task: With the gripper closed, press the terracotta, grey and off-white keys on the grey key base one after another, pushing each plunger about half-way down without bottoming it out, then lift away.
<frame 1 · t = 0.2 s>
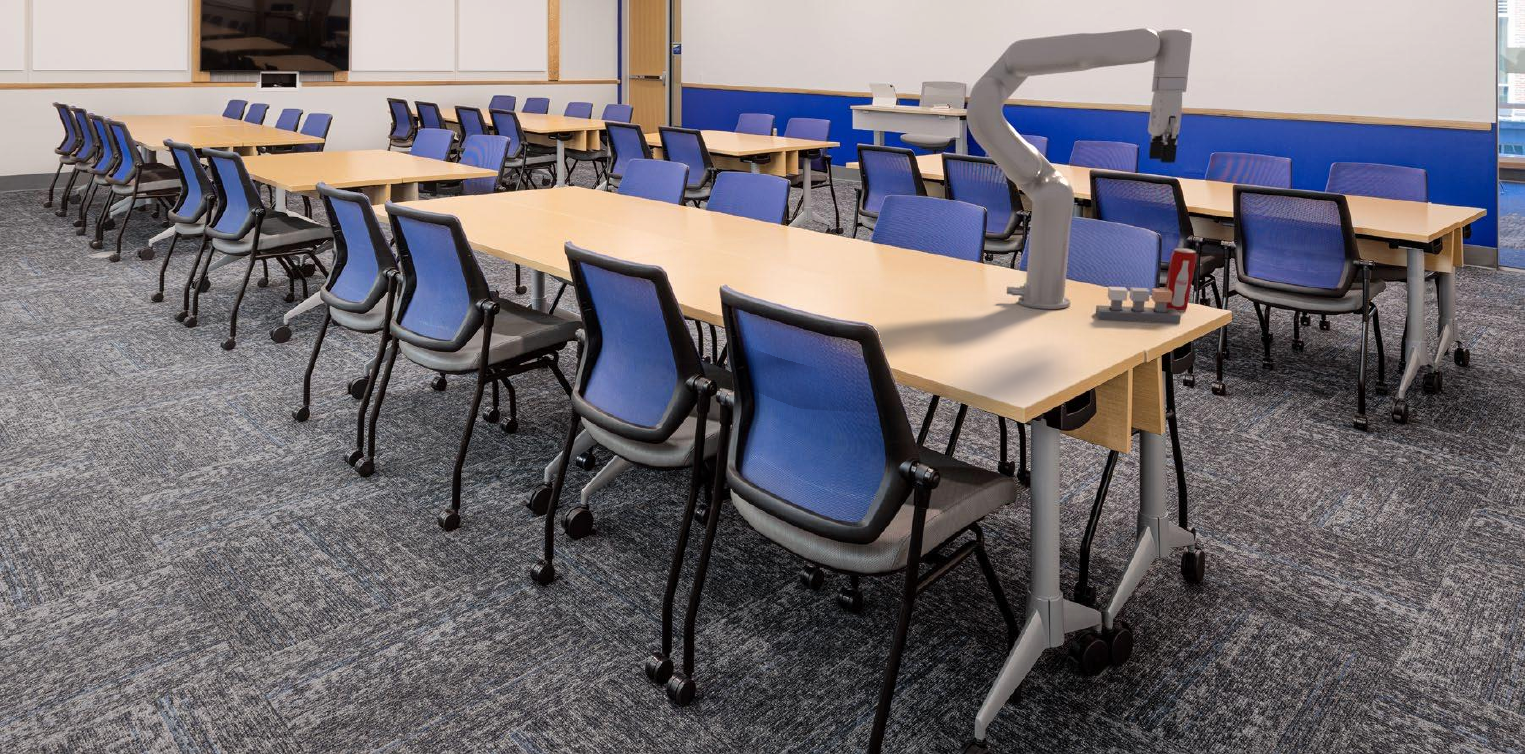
hand: (1161, 160, 246), 36 cm above the table, tool pointing down, fingers open, 9 cm apart
key white: (1117, 298, 246), point 5 cm above the table, slide at 0.0 cm
grey key base: (1136, 318, 247), on the table
key terracotta: (1161, 300, 244), point 5 cm above the table, slide at 0.0 cm
beverage can: (1175, 310, 256), on the table
key grey: (1139, 299, 245), point 5 cm above the table, slide at 0.0 cm
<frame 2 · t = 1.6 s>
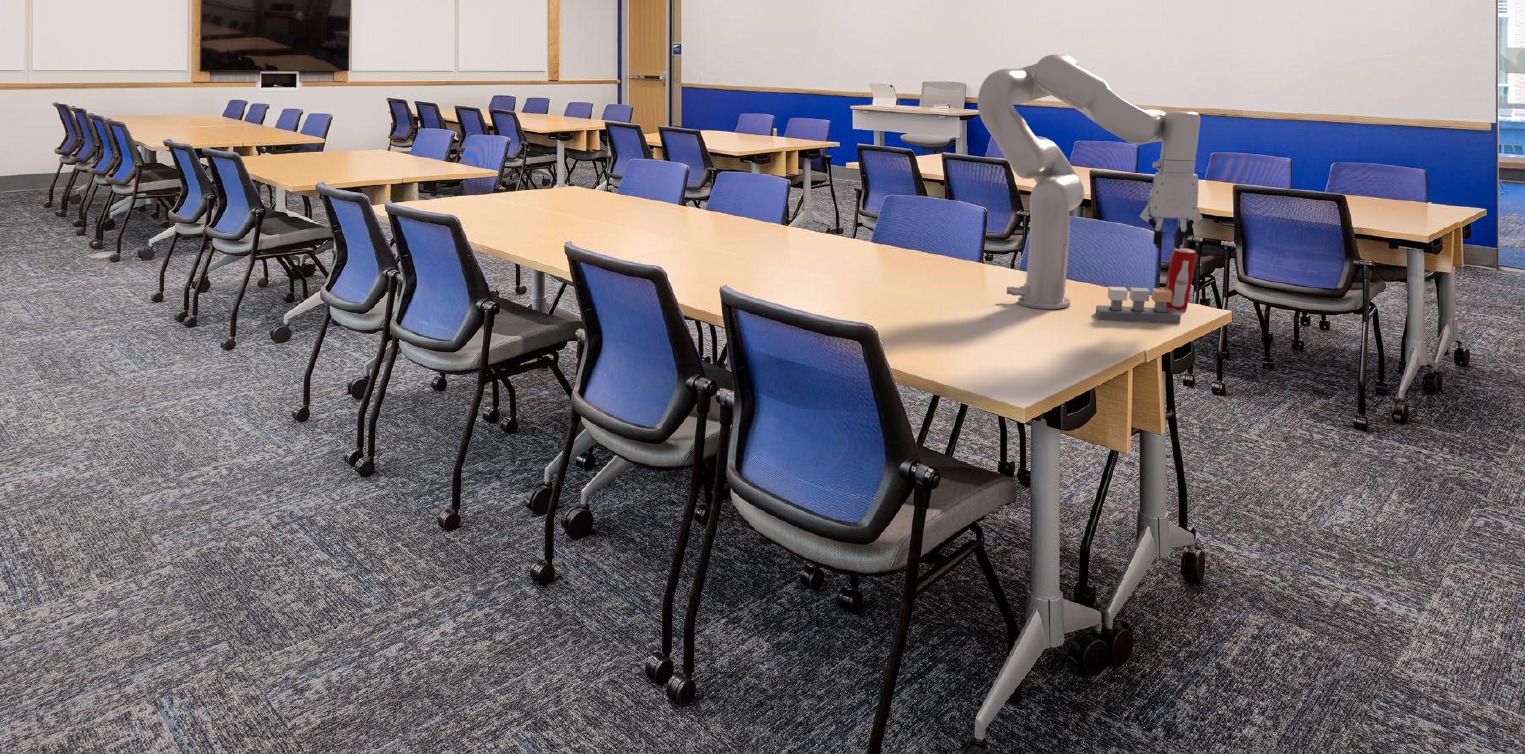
hand: (1167, 246, 241), 17 cm above the table, tool pointing down, fingers open, 3 cm apart
nothing on the table moved.
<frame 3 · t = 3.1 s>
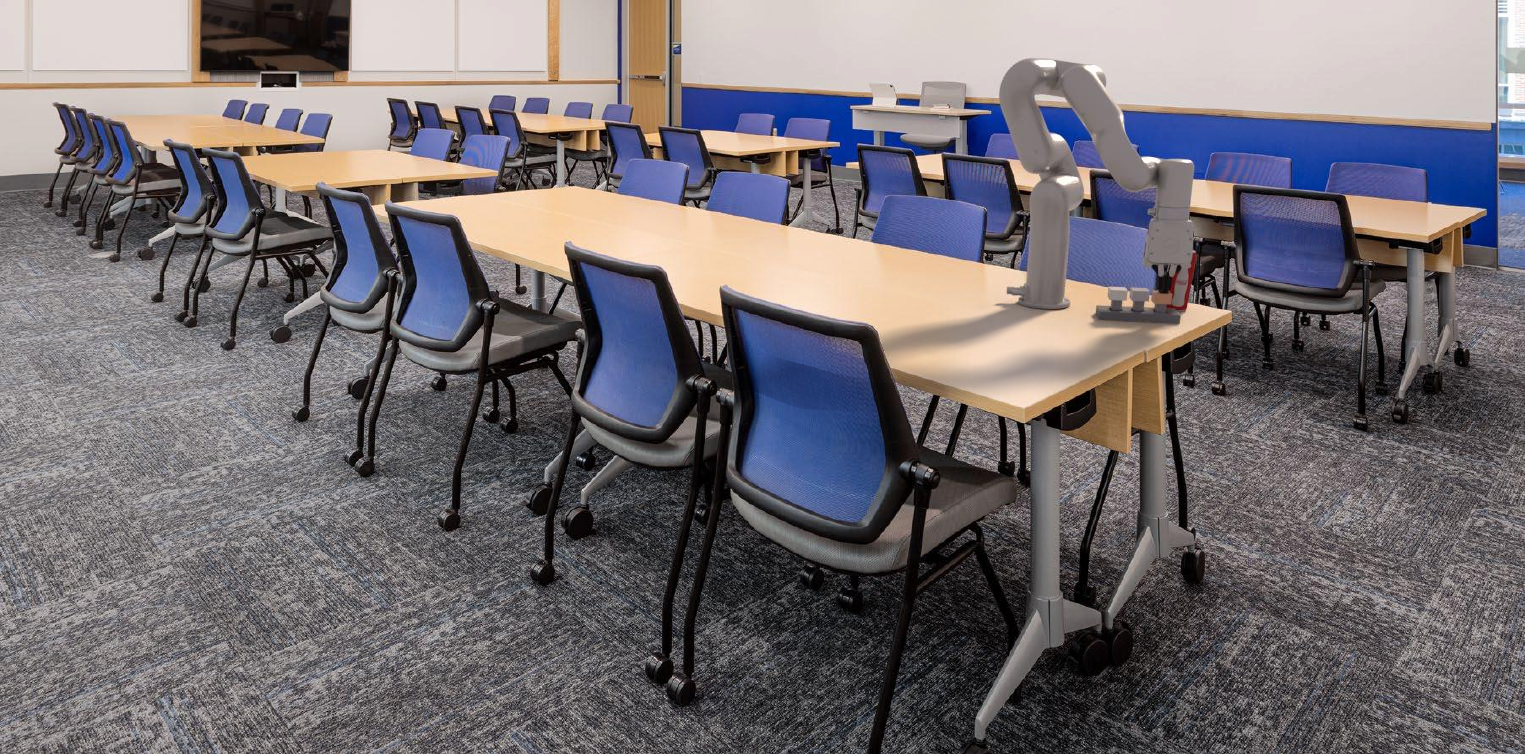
hand: (1163, 292, 244), 7 cm above the table, tool pointing down, fingers closed
key terracotta: (1160, 302, 245), point 4 cm above the table, slide at 0.5 cm, touching gripper
everything else where it was.
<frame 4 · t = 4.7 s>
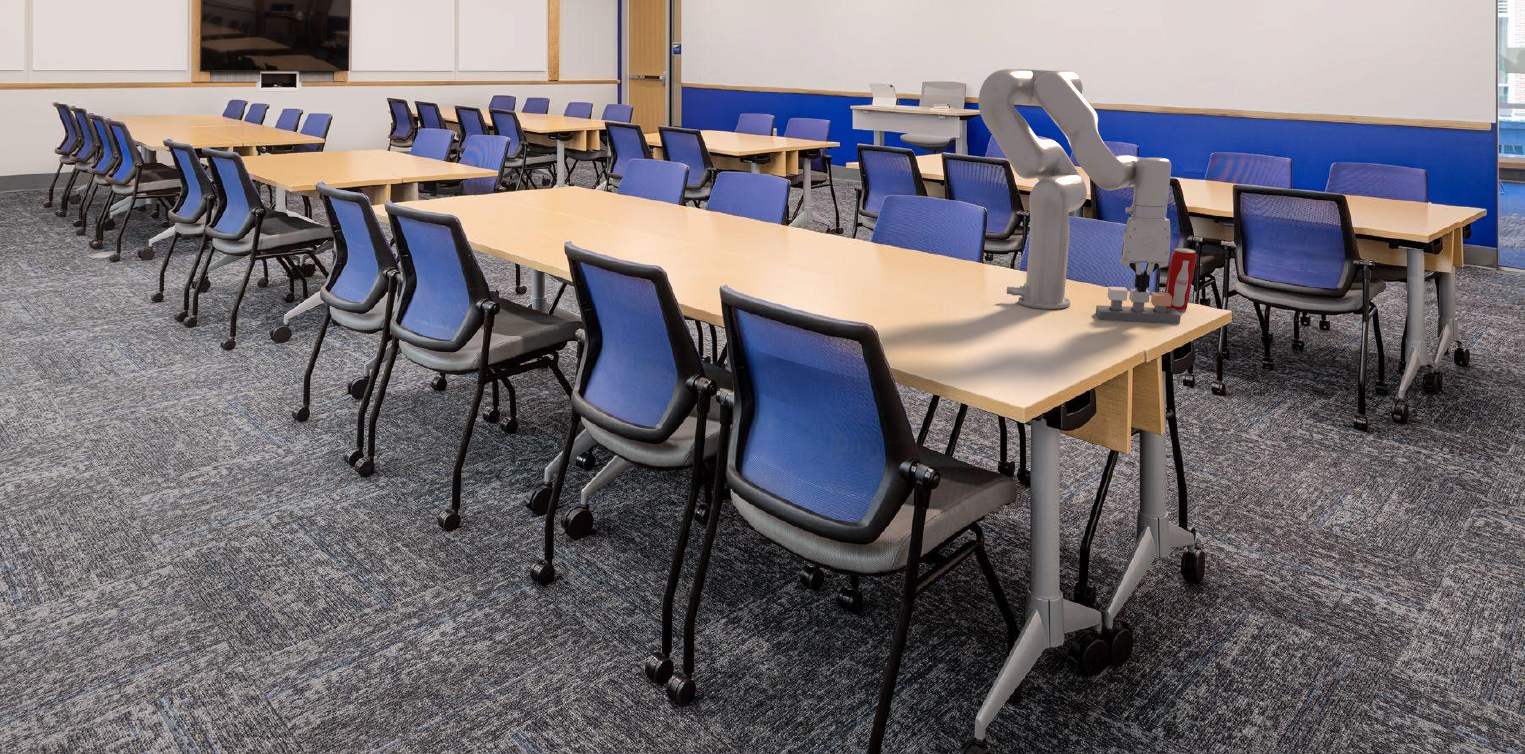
hand: (1141, 290, 244), 7 cm above the table, tool pointing down, fingers closed
key terracotta: (1160, 304, 245), point 4 cm above the table, slide at 1.0 cm
key grey: (1138, 300, 245), point 4 cm above the table, slide at 0.3 cm, touching gripper
everything else where it was.
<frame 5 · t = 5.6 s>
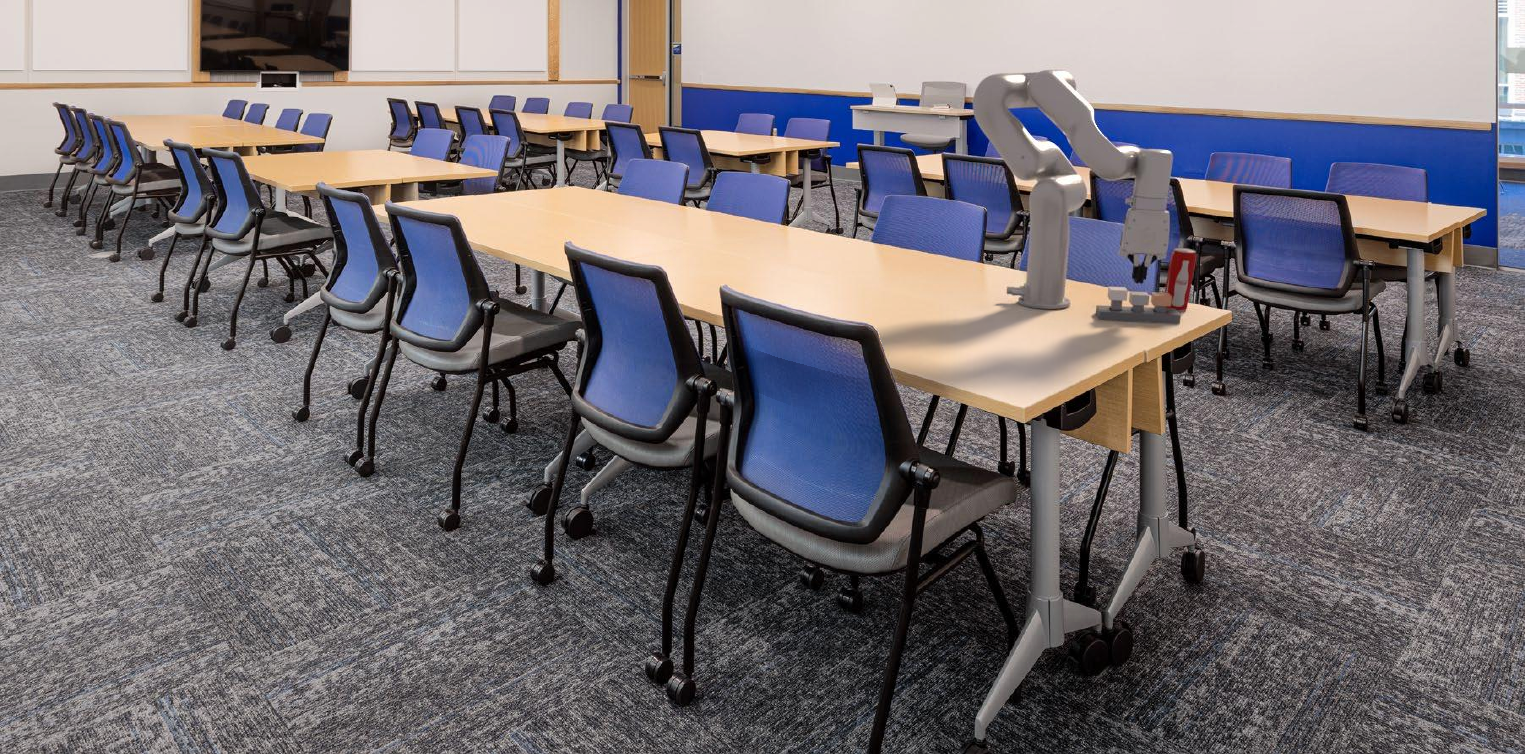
hand: (1138, 282, 244), 9 cm above the table, tool pointing down, fingers closed
key grey: (1138, 303, 246), point 4 cm above the table, slide at 1.0 cm
everything else where it was.
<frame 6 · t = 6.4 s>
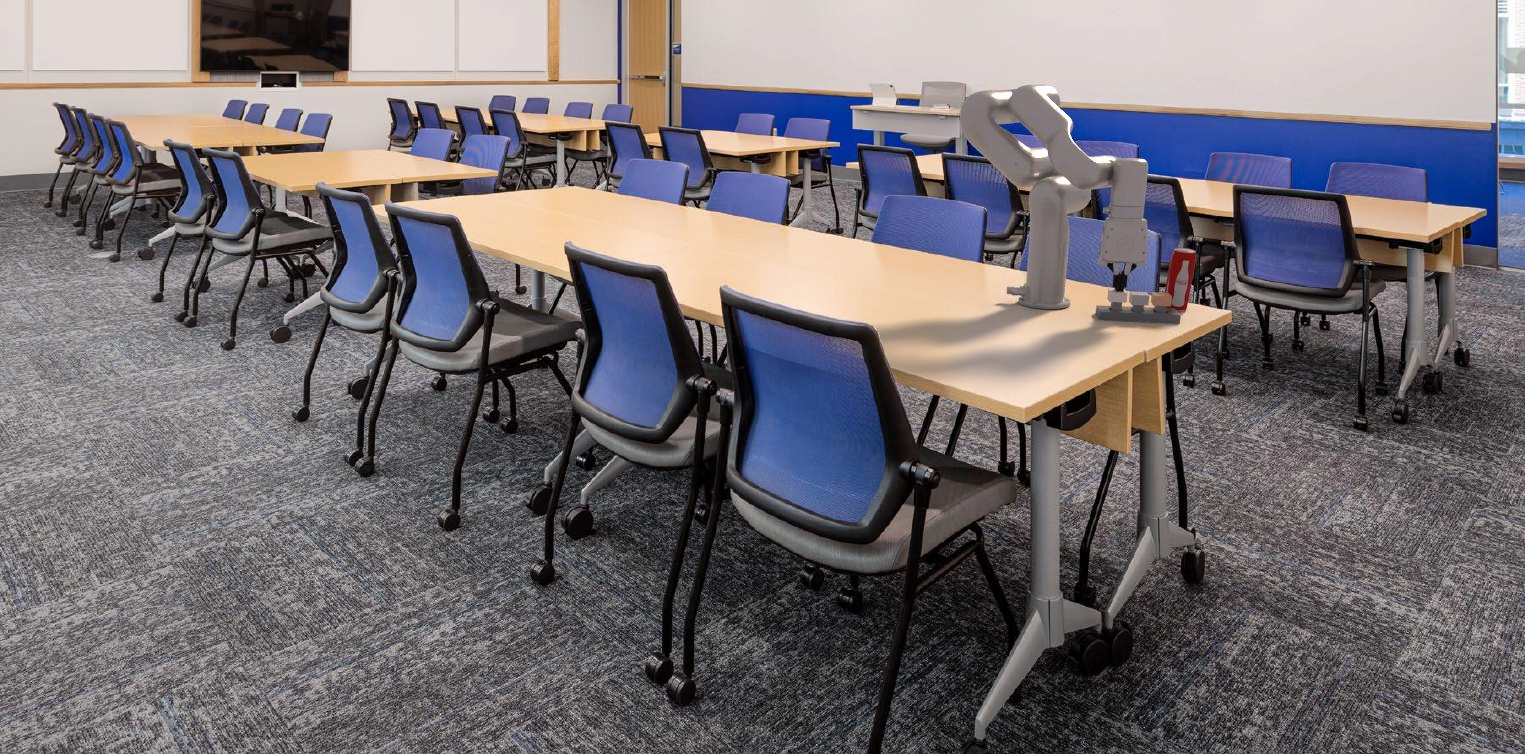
hand: (1119, 290, 245), 7 cm above the table, tool pointing down, fingers closed
key white: (1116, 300, 246), point 4 cm above the table, slide at 0.5 cm, touching gripper
everything else where it was.
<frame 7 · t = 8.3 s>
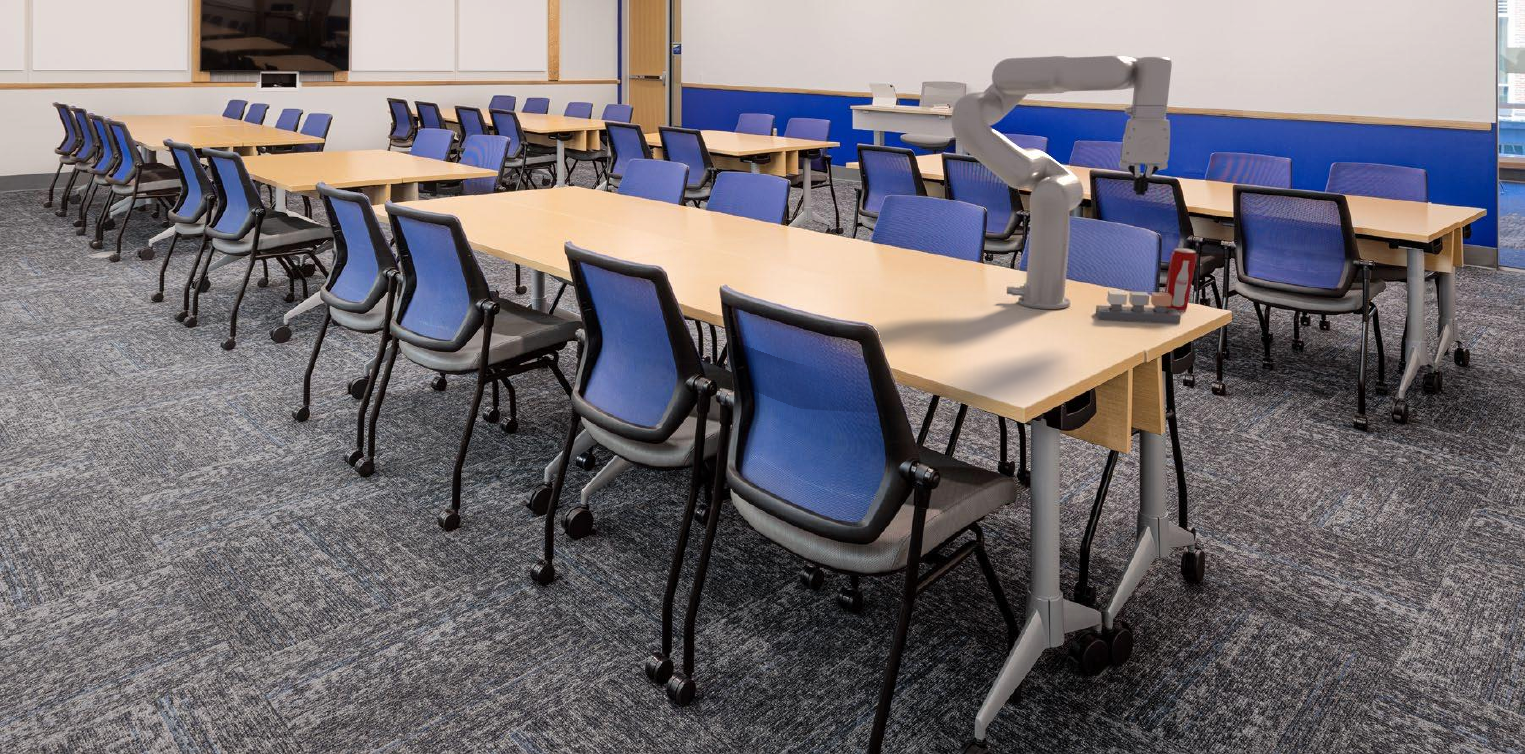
hand: (1139, 194, 242), 29 cm above the table, tool pointing down, fingers closed
key white: (1116, 302, 246), point 4 cm above the table, slide at 1.0 cm
everything else where it was.
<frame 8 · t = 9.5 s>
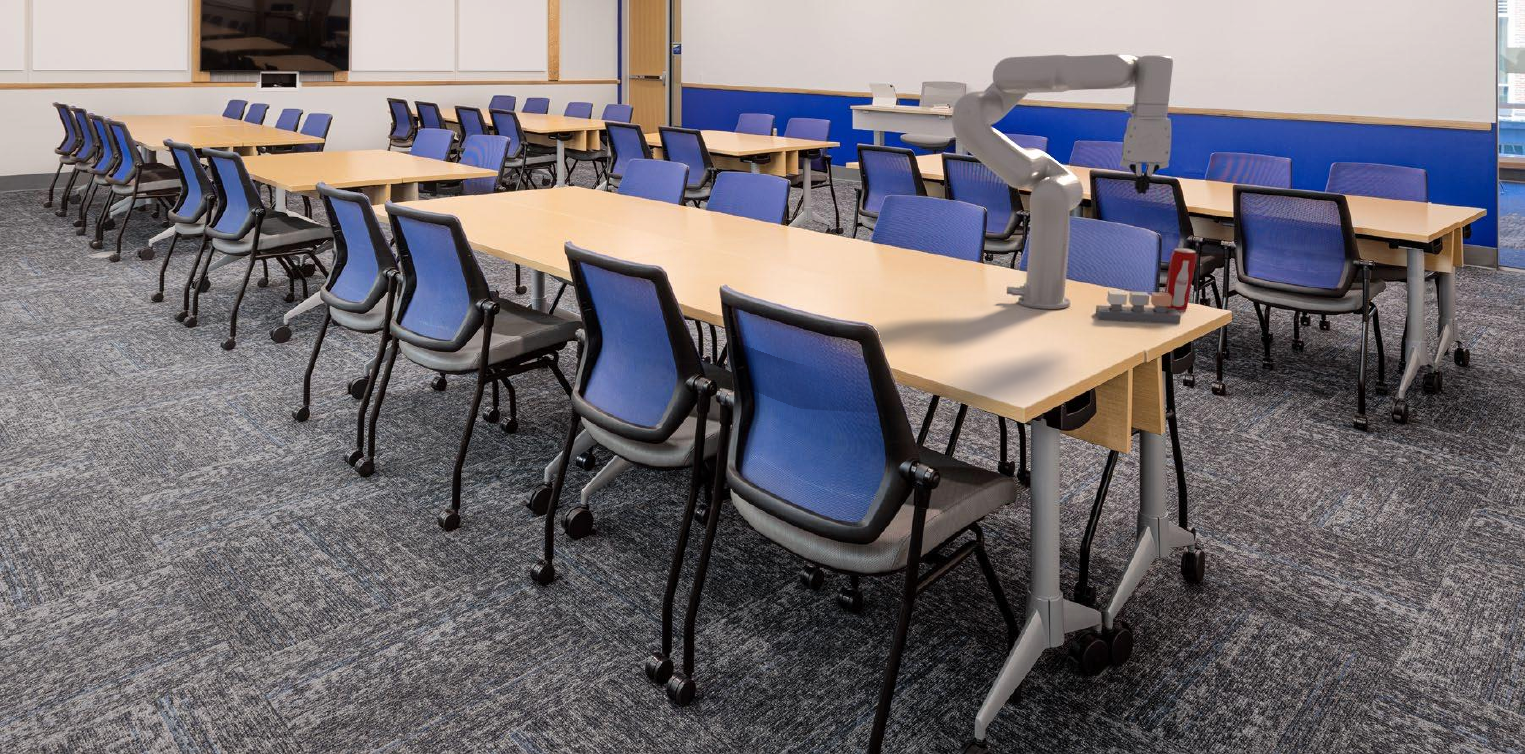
hand: (1141, 193, 242), 29 cm above the table, tool pointing down, fingers closed
nothing on the table moved.
at the end: key terracotta slide at 1.0 cm; key grey slide at 1.0 cm; key white slide at 1.0 cm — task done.
